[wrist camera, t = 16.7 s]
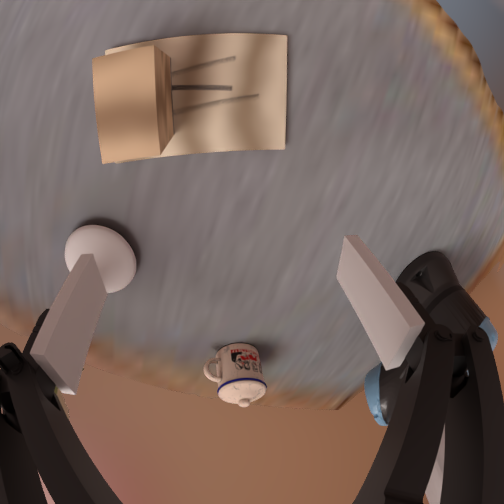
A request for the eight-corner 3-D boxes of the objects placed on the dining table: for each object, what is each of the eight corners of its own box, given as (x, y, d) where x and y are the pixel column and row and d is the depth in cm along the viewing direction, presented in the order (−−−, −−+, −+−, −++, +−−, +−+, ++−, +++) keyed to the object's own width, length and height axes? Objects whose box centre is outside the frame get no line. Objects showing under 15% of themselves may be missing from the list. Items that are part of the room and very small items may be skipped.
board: (283, 37, 25) (287, 35, 23) (281, 146, 32) (284, 149, 31) (109, 51, 22) (105, 50, 21) (118, 160, 30) (115, 163, 29)
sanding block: (126, 65, 23) (92, 58, 14) (171, 57, 23) (154, 45, 15) (132, 139, 28) (102, 163, 19) (174, 134, 28) (160, 155, 20)
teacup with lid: (267, 347, 54) (279, 397, 44) (244, 370, 58) (252, 416, 48) (213, 332, 49) (218, 388, 39) (193, 358, 53) (195, 409, 43)
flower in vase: (70, 211, 32) (-24, 358, 12) (144, 229, 36) (98, 404, 15) (70, 282, 38) (20, 419, 18) (133, 298, 42) (109, 447, 22)
